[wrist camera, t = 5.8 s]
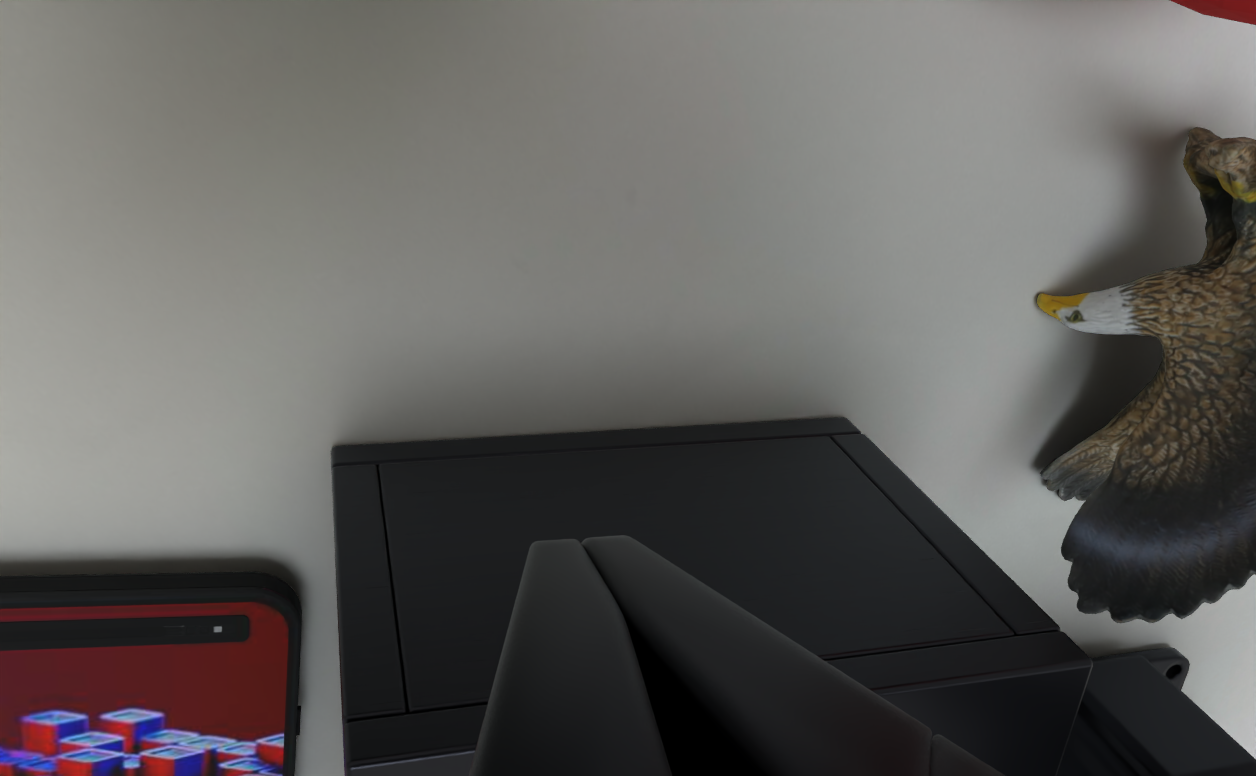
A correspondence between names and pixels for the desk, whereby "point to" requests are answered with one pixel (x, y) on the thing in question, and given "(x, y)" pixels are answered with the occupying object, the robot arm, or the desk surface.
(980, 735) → the black drawer cabinet
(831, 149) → the desk surface
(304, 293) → the desk surface
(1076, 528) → the eagle figurine
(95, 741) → the smartphone
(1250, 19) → the fruit
